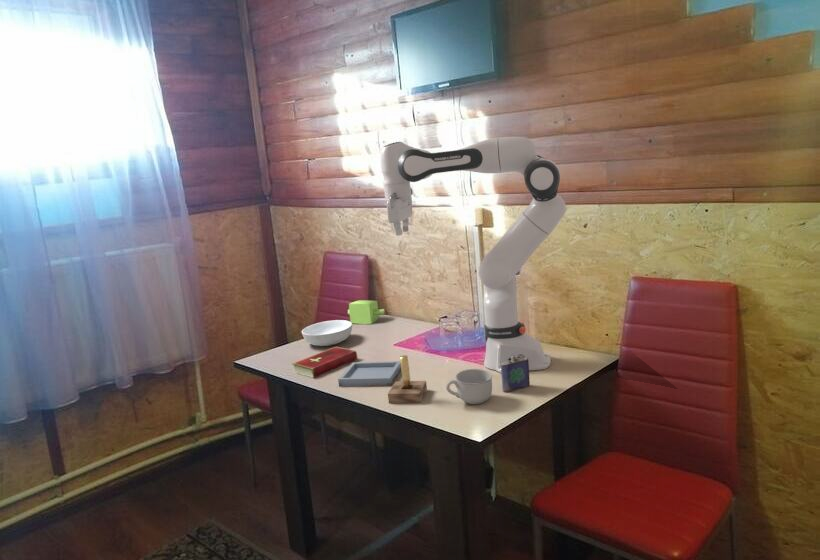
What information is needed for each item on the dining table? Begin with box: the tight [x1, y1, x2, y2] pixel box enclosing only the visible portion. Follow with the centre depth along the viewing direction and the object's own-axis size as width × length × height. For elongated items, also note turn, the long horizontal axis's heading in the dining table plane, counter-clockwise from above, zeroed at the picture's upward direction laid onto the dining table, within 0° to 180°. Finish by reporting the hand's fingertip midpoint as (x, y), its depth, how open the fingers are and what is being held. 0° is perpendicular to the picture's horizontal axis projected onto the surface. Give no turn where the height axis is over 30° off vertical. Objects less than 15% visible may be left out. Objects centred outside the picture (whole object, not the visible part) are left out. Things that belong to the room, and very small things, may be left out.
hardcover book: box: [291, 346, 358, 379], centre depth 228 cm, size 12×21×4 cm, turn 137°
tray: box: [337, 360, 401, 387], centre depth 212 cm, size 18×16×2 cm
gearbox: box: [347, 299, 386, 325], centre depth 283 cm, size 18×10×10 cm, turn 66°
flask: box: [500, 354, 531, 393], centre depth 188 cm, size 9×3×11 cm, turn 110°
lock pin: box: [399, 354, 412, 389], centre depth 191 cm, size 2×2×13 cm
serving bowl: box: [301, 319, 353, 347], centre depth 257 cm, size 21×21×7 cm
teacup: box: [445, 368, 493, 405], centre depth 183 cm, size 14×11×8 cm
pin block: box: [387, 380, 428, 404], centre depth 192 cm, size 10×10×3 cm
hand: (402, 233), depth 208 cm, fingers open, 8 cm apart
